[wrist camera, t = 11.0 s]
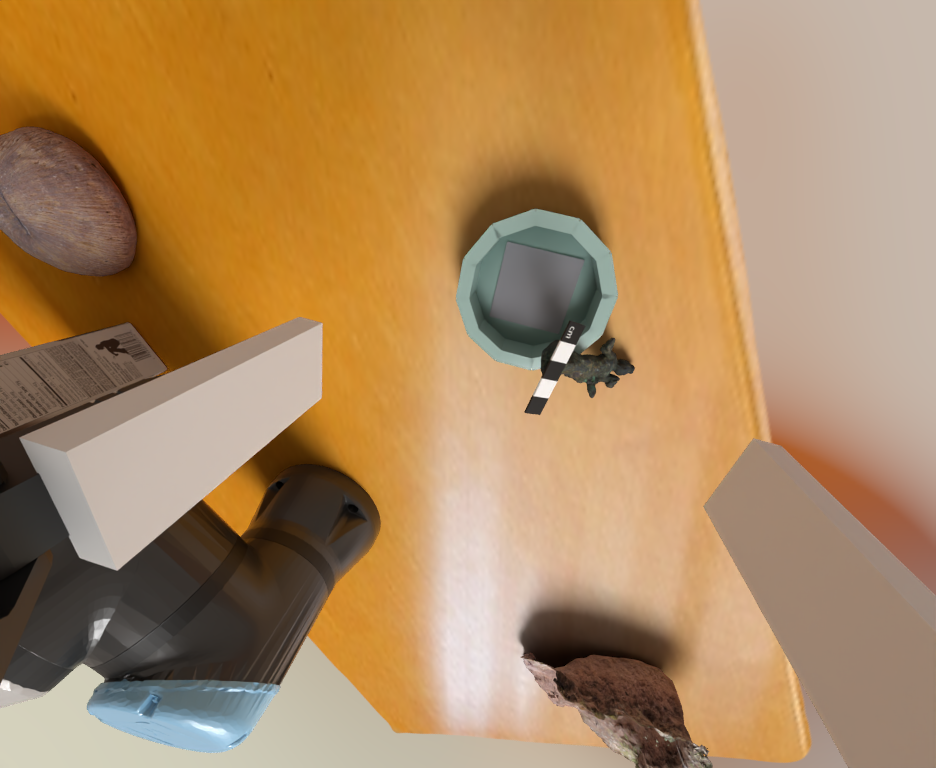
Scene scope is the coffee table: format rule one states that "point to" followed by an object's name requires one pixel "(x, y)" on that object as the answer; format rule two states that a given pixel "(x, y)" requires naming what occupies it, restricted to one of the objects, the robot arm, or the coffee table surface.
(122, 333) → the coffee box
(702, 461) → the coffee table surface
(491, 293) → the bowl
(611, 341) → the figurine
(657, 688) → the rock
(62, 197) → the decorative stone
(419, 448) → the coffee table surface
